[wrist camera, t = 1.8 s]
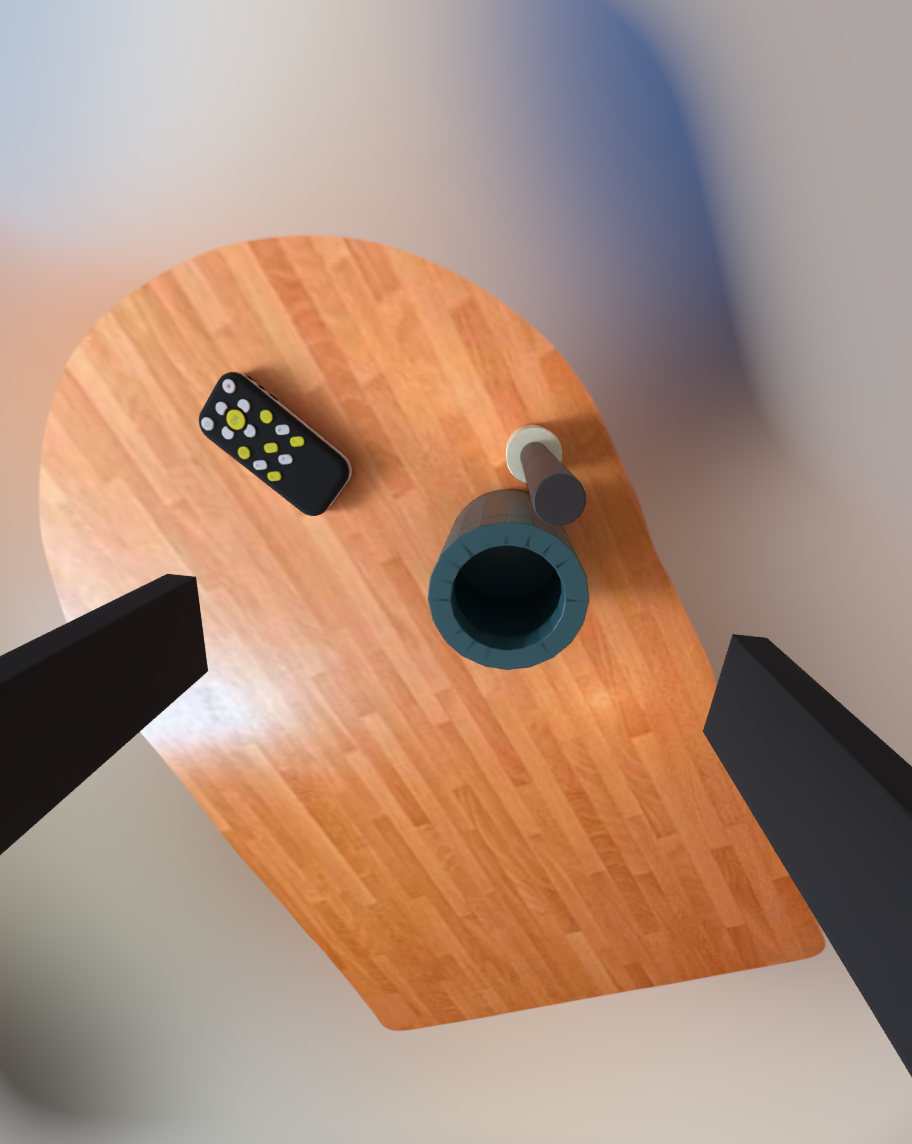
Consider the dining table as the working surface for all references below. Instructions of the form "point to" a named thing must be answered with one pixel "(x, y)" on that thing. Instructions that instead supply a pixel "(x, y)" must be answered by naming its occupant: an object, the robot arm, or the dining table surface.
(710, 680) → the dining table surface
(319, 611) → the dining table surface
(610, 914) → the dining table surface
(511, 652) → the jar
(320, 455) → the remote control
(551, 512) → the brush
